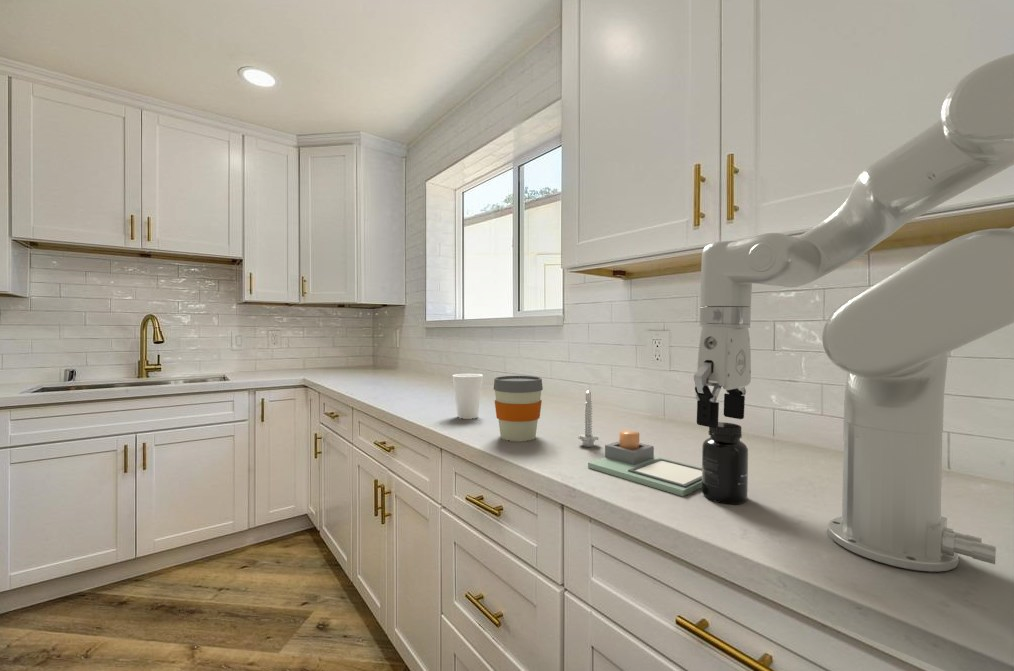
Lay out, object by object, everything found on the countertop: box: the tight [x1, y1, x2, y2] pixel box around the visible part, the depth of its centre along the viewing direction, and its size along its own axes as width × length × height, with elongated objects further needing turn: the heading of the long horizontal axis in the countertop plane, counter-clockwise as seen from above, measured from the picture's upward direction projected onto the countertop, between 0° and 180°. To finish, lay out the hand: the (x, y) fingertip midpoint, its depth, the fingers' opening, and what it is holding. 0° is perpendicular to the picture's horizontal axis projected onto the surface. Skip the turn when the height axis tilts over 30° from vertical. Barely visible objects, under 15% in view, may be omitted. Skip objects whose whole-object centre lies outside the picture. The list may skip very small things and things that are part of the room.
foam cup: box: [452, 373, 484, 420], centre depth 139 cm, size 10×9×13 cm
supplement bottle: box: [701, 421, 749, 505], centre depth 73 cm, size 7×7×12 cm
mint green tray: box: [587, 440, 702, 497], centre depth 86 cm, size 20×14×4 cm
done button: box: [618, 429, 640, 450], centre depth 92 cm, size 4×4×4 cm
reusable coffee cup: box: [493, 375, 544, 442], centre depth 114 cm, size 12×13×15 cm
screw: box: [577, 390, 599, 448], centre depth 105 cm, size 13×5×5 cm
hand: (720, 421), depth 74 cm, fingers open, 9 cm apart
